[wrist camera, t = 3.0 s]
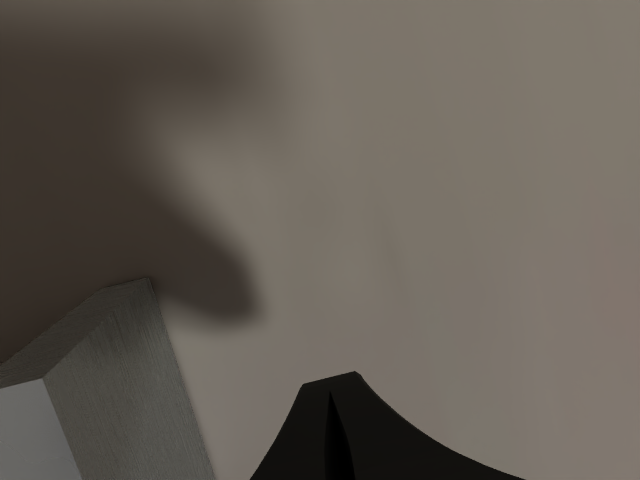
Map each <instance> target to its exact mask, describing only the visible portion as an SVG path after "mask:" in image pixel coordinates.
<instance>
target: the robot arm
mask: <svg viewBox="0 0 640 480" xmlns="http://www.w3.org/2000/svg"><path fill="white" fill-rule="evenodd" d="M250 480H525V479H522V478H519V477H516V476H513V475H510V474H507V473H504V472H501V471H499V470H496V469H493V468H491V467H488V466H486V465H483V464H481V463H479V462H477V461H474V460H472V459H470V458H468V457H466V456H463V455H461V454H459V453H457V452H455V451H453V450H451V449H449V448H447V447H446V446H444V445H442V444H441V443H439V442H437V441H435V440H434V439H432V438H431V437H429V436H428V435H426V434H425V433H423V432H422V431H420V430H419V429H417V428H416V427H415V426H413V425H412V424H411V423H409V422H408V421H407V420H405V419H404V418H403V417H402V416H400V415H399V414H398V413H397V412H396V411H394V410H393V409H392V408H391V407H390V406H389V405H388V404H387V403H385V402H384V401H383V400H382V399H381V398H380V397H379V396H378V395H377V394H376V393H375V392H374V391H373V390H372V389H371V388H370V386H369V385H368V384H367V383H366V382H365V381H364V379H363V378H362V376H361V375H360V374H359V373H357V372H356V371H353V372H349V373H345V374H341V375H337V376H333V377H329V378H325V379H321V380H317V381H313V382H309V383H305V384H303V385H302V387H301V388H300V390H299V392H298V394H297V397H296V399H295V401H294V404H293V406H292V408H291V410H290V412H289V414H288V416H287V418H286V420H285V422H284V424H283V426H282V428H281V430H280V432H279V433H278V435H277V437H276V439H275V441H274V443H273V444H272V446H271V447H270V449H269V451H268V452H267V454H266V456H265V457H264V459H263V460H262V462H261V464H260V465H259V467H258V468H257V470H256V471H255V473H254V474H253V476H252V477H251V478H250Z"/></svg>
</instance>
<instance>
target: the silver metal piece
mask: <svg viewBox="0 0 640 480" xmlns="http://www.w3.org/2000/svg"><path fill="white" fill-rule="evenodd" d="M0 480H216V479H215V476H214V473H213V470H212V467H211V464H210V461H209V458H208V455H207V452H206V449H205V446H204V443H203V440H202V437H201V434H200V431H199V428H198V425H197V422H196V419H195V416H194V413H193V410H192V407H191V404H190V401H189V398H188V395H187V392H186V389H185V386H184V383H183V379H182V376H181V373H180V370H179V367H178V364H177V361H176V358H175V355H174V352H173V349H172V346H171V343H170V340H169V337H168V334H167V331H166V328H165V325H164V322H163V319H162V316H161V313H160V310H159V307H158V304H157V301H156V298H155V295H154V292H153V289H152V286H151V283H150V280H149V277H147V278H143V279H139V280H135V281H131V282H127V283H123V284H119V285H115V286H111V287H107V288H103V289H99V290H98V291H97V292H95V293H94V294H93V295H91V296H90V297H89V298H87V299H86V300H85V301H84V302H82V303H81V304H80V305H78V306H77V307H76V308H75V309H73V310H72V311H71V312H69V313H68V314H67V315H65V316H64V317H63V318H62V319H60V320H59V321H58V322H56V323H55V324H54V325H52V326H51V327H50V328H49V329H47V330H46V331H45V332H43V333H42V334H41V335H39V336H38V337H37V338H36V339H34V340H33V341H32V342H30V343H29V344H28V345H26V346H25V347H24V348H23V349H21V350H20V351H19V352H17V353H16V354H15V355H13V356H12V357H11V358H10V359H8V360H7V361H6V362H4V363H3V364H2V365H0Z"/></svg>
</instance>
